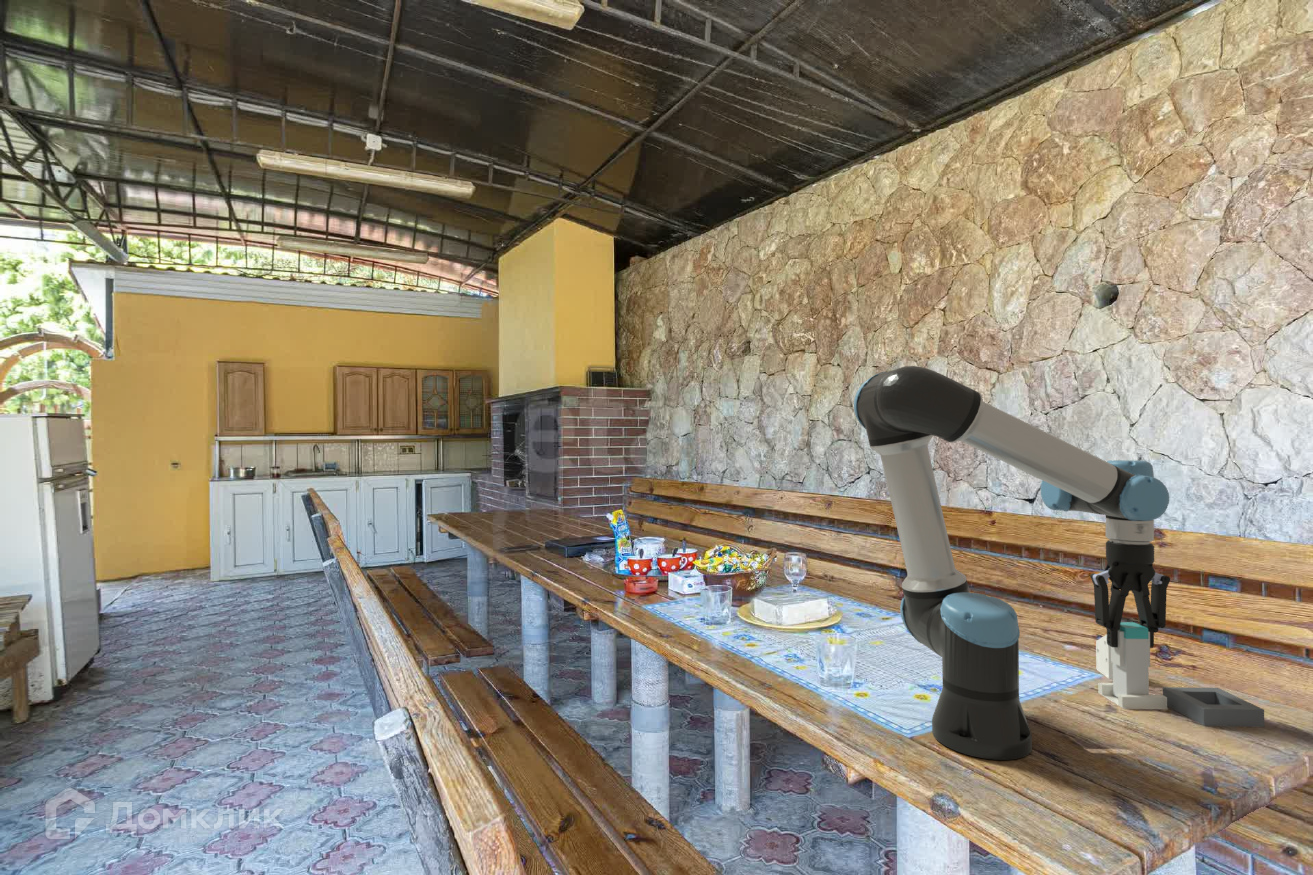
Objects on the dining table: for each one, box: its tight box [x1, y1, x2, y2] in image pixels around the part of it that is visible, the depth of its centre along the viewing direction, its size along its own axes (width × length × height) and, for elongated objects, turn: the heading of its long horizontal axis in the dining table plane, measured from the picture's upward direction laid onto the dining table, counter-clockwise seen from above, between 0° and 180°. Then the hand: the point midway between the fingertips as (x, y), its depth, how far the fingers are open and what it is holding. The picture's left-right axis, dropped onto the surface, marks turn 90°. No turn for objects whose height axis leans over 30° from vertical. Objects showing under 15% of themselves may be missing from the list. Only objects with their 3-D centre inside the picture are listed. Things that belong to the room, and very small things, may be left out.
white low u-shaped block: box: [1096, 682, 1169, 710], centre depth 126 cm, size 8×8×3 cm
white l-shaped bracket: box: [1095, 633, 1113, 680], centre depth 139 cm, size 4×10×9 cm
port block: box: [1162, 686, 1265, 728], centre depth 119 cm, size 10×10×4 cm
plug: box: [1112, 621, 1150, 697], centre depth 126 cm, size 4×4×14 cm
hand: (1130, 663), depth 126 cm, fingers closed on plug, 4 cm apart
